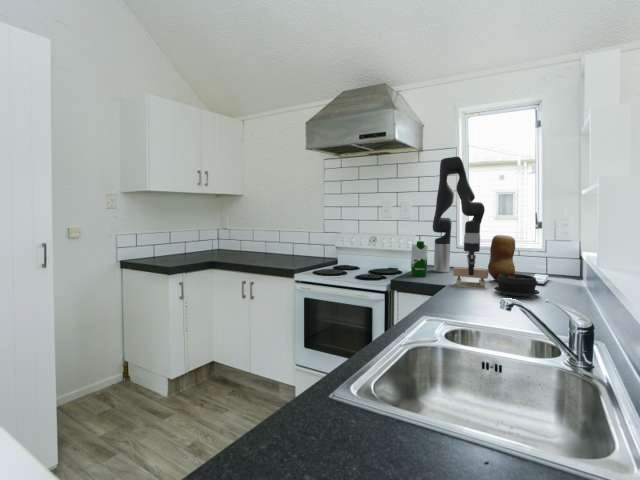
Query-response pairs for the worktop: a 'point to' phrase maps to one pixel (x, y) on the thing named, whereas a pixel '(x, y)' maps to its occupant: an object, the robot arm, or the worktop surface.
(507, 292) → the casserole
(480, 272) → the brown wooden block
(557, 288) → the worktop surface
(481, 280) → the rack
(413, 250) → the milk carton
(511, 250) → the butternut squash
